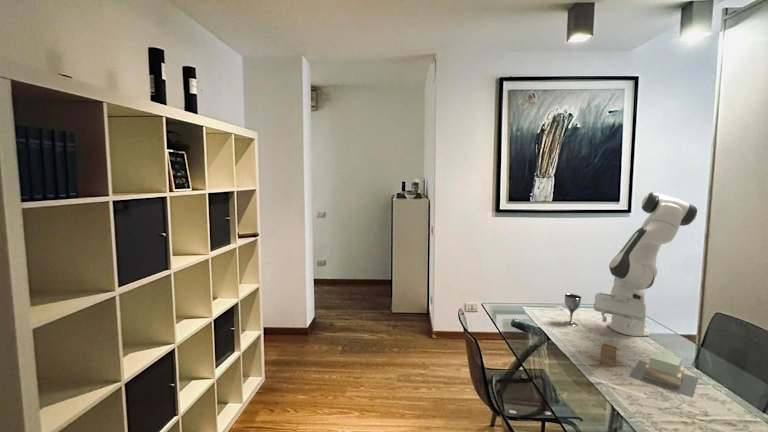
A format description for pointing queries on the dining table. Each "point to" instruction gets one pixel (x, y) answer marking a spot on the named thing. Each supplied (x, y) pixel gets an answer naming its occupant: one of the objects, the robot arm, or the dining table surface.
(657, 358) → the tower top
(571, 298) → the wine glass
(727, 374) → the dining table surface
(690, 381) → the mat
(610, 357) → the walnut block
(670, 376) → the tower base
